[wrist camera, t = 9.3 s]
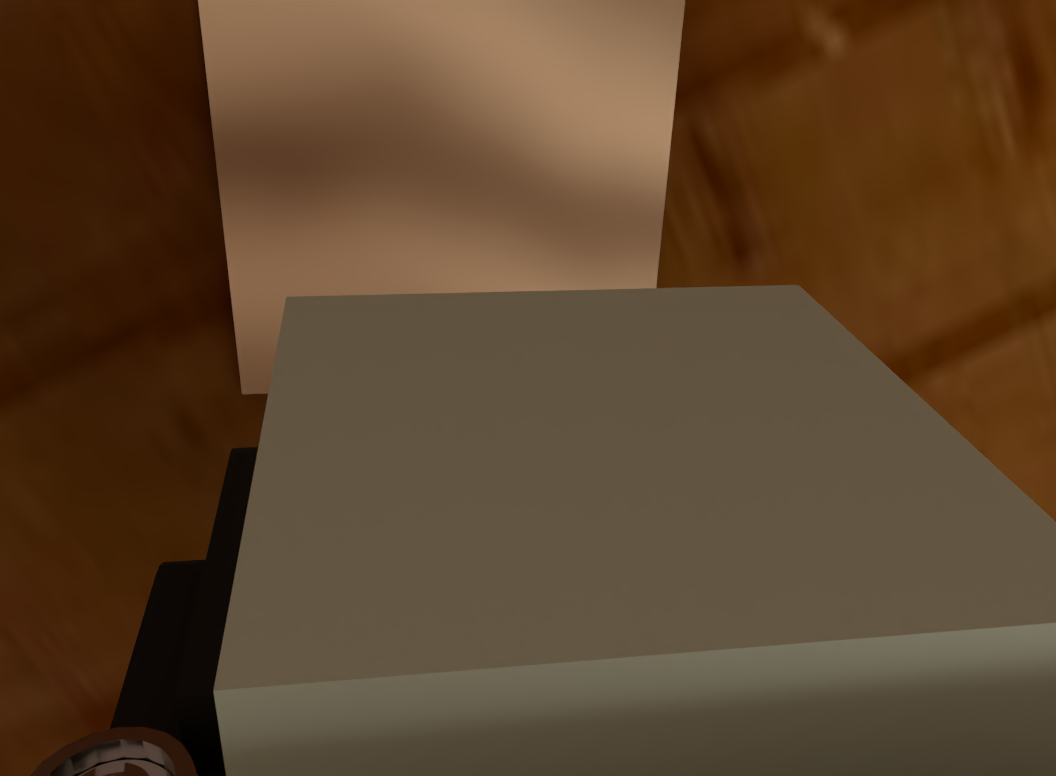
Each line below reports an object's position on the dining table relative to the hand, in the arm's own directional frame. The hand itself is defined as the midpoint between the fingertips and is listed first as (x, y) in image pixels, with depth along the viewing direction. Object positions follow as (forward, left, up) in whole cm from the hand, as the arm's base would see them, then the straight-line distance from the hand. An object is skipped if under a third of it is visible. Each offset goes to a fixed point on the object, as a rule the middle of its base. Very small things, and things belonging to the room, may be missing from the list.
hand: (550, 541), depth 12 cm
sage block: (0, 0, -1) cm, 1 cm away
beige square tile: (0, 0, -17) cm, 17 cm away
